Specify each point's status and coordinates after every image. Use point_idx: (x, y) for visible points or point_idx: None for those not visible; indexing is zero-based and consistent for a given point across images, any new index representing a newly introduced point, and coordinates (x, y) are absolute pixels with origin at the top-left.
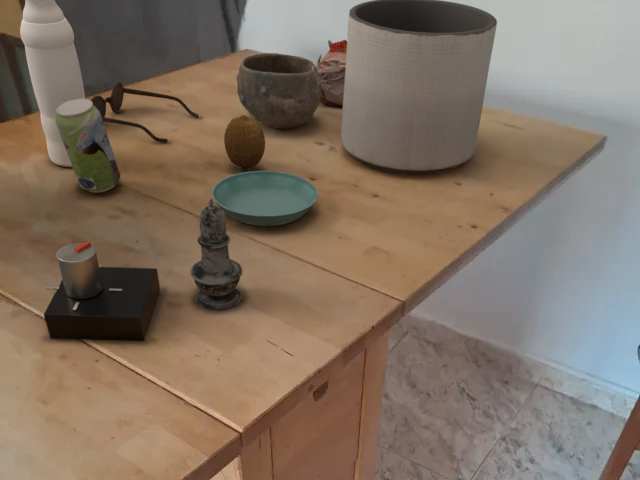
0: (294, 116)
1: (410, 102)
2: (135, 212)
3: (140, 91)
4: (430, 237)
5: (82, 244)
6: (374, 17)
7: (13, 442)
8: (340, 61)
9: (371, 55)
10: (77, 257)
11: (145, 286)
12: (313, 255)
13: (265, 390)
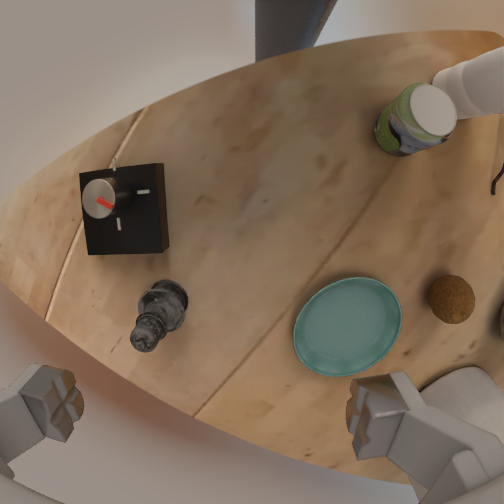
0: (500, 328)
1: None
2: (335, 183)
3: None
4: (290, 436)
5: (106, 203)
6: None
7: (11, 196)
8: None
9: None
10: (89, 204)
11: (130, 249)
12: (253, 368)
13: (76, 335)
